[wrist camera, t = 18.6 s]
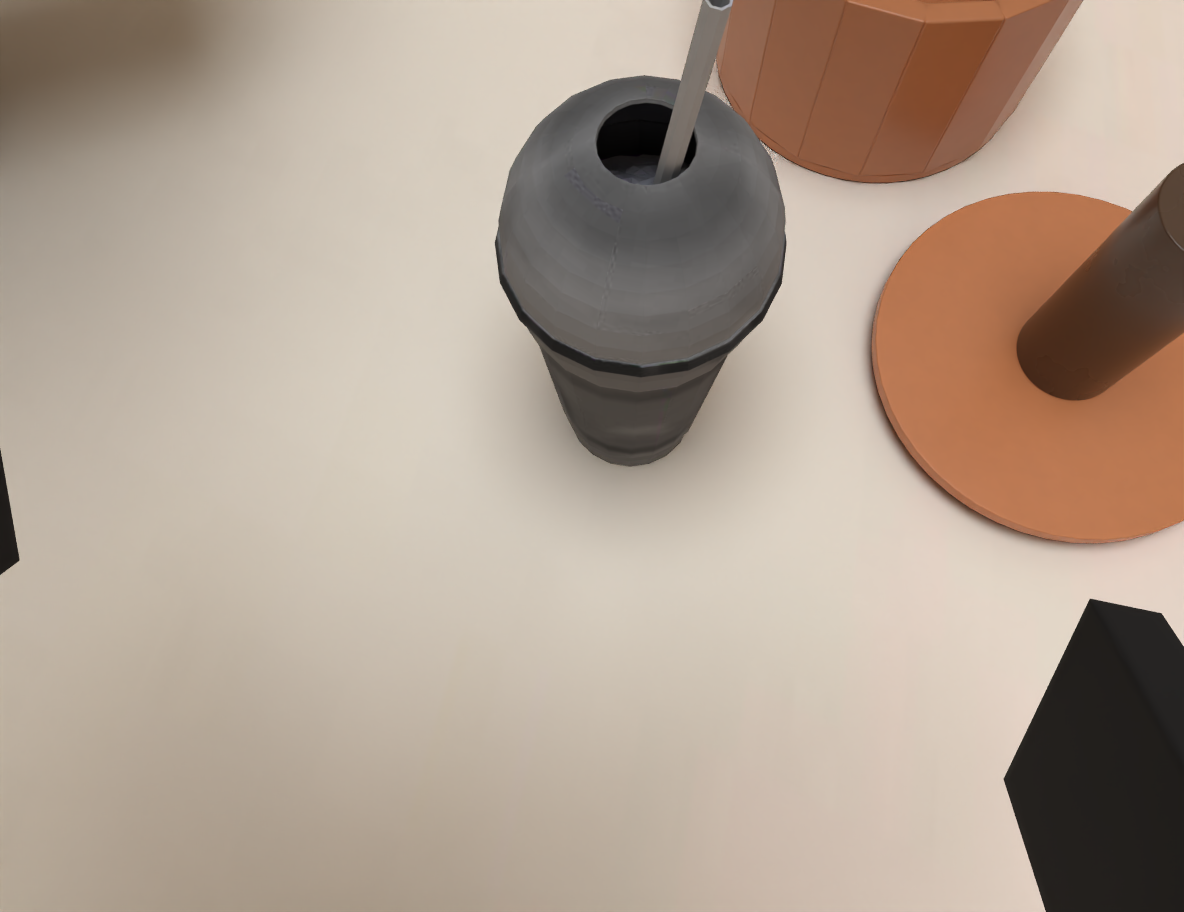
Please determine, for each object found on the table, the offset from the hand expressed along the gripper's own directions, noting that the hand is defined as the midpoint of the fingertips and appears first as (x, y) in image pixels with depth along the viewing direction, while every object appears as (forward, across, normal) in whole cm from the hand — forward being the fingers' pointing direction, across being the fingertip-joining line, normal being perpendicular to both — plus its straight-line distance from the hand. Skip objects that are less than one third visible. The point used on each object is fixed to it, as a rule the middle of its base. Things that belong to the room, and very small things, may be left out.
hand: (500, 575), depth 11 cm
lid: (+25, -15, +3) cm, 29 cm away
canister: (+34, -6, -5) cm, 35 cm away
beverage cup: (+22, 0, +7) cm, 23 cm away
